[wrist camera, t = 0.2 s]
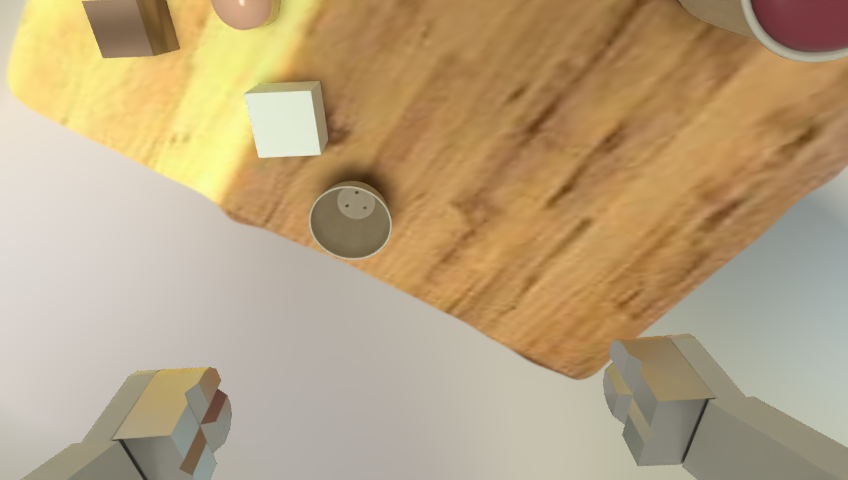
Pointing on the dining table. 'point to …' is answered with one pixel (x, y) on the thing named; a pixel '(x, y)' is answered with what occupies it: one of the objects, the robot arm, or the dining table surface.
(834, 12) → the canister
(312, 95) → the grey block
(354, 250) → the flower pot
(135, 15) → the walnut block
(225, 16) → the terracotta cylinder
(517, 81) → the dining table surface
